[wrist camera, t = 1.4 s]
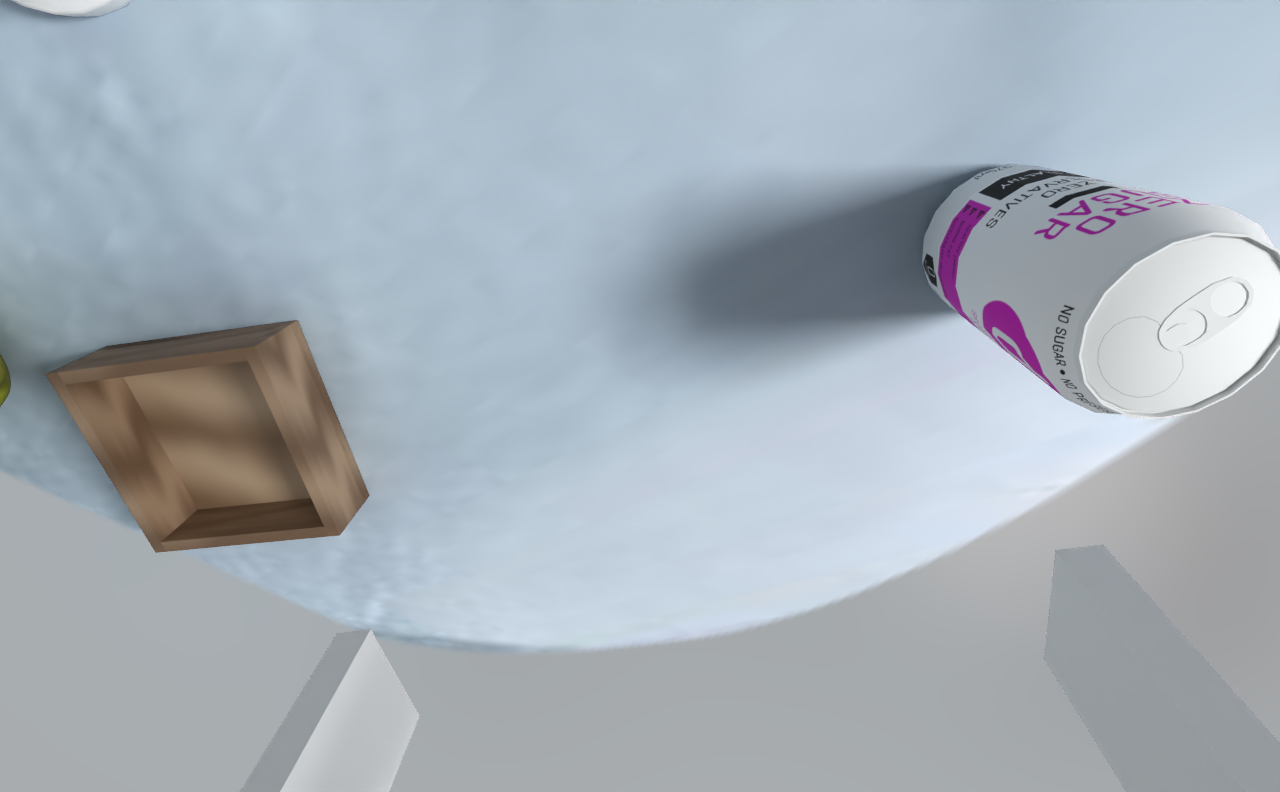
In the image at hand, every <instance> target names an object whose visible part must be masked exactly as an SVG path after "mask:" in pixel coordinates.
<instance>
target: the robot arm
mask: <svg viewBox="0 0 1280 792" xmlns="http://www.w3.org/2000/svg"><path fill="white" fill-rule="evenodd" d="M1044 659H1045V661H1046V663H1047V665H1048V666H1049V668H1050V669H1051V671H1052V673H1053V674H1054V676H1055V677H1056V679H1057V681H1058V682H1059V684H1060V686H1061V687H1062V689H1063V690H1064V692H1065V694H1066V695H1067V697H1068V699H1069V700H1070V702H1071V703H1072V705H1073V707H1074V708H1075V710H1076V711H1077V713H1078V715H1079V716H1080V718H1081V719H1082V721H1083V723H1084V724H1085V726H1086V728H1087V729H1088V731H1089V732H1090V734H1091V736H1092V737H1093V738H1094V741H1095V742H1096V744H1097V746H1098V747H1099V749H1100V750H1101V752H1102V754H1103V755H1104V757H1105V758H1106V760H1107V762H1108V763H1109V765H1110V767H1111V768H1112V770H1113V771H1114V773H1115V775H1116V776H1117V778H1118V779H1119V781H1120V783H1121V784H1122V786H1123V788H1124V789H1125V791H1126V792H1280V743H1279V741H1278V740H1277V739H1276V738H1275V737H1274V736H1273V735H1272V734H1271V733H1270V731H1269V730H1268V729H1267V728H1266V727H1265V726H1264V725H1263V724H1262V722H1261V721H1260V720H1259V719H1258V718H1257V717H1256V716H1255V715H1254V713H1253V712H1252V711H1251V710H1250V709H1249V708H1248V707H1247V706H1246V704H1245V703H1244V702H1243V701H1242V700H1241V699H1240V698H1239V697H1238V696H1237V694H1236V693H1235V692H1234V691H1233V690H1232V689H1231V688H1230V687H1229V686H1228V685H1227V683H1226V682H1225V681H1224V680H1223V679H1222V678H1221V676H1220V675H1219V674H1218V673H1217V672H1216V671H1215V670H1214V669H1213V667H1212V666H1211V665H1210V664H1209V663H1208V662H1207V661H1206V660H1205V659H1204V657H1203V656H1202V655H1201V654H1200V653H1199V652H1198V651H1197V649H1196V648H1195V647H1194V646H1193V645H1192V644H1191V643H1190V642H1189V641H1188V639H1187V638H1186V637H1185V636H1184V635H1183V634H1182V633H1181V632H1180V630H1179V629H1178V628H1177V627H1176V626H1175V625H1174V624H1173V623H1172V621H1171V620H1170V619H1169V618H1168V617H1167V616H1166V615H1165V614H1164V612H1163V611H1162V610H1161V609H1160V608H1159V607H1158V606H1157V605H1156V603H1155V602H1154V601H1153V600H1152V599H1151V598H1150V597H1149V596H1148V595H1147V593H1146V592H1145V591H1144V590H1143V589H1142V588H1141V587H1140V586H1139V584H1138V583H1137V582H1136V581H1135V580H1134V579H1133V578H1132V577H1131V575H1130V574H1129V573H1128V572H1127V571H1126V570H1125V569H1124V568H1123V566H1122V565H1121V564H1120V563H1119V562H1118V561H1117V560H1116V559H1115V557H1114V556H1113V555H1112V554H1111V553H1110V552H1109V551H1108V550H1107V549H1106V547H1105V546H1104V545H1096V546H1088V547H1079V548H1070V549H1061V550H1055V560H1054V569H1053V579H1052V589H1051V598H1050V607H1049V617H1048V627H1047V636H1046V646H1045V655H1044ZM418 719H419V714H418V713H417V711H416V709H415V707H414V706H413V704H412V702H411V700H410V698H409V697H408V695H407V693H406V691H405V690H404V688H403V686H402V684H401V682H400V681H399V679H398V677H397V675H396V674H395V672H394V670H393V668H392V667H391V665H390V663H389V661H388V659H387V658H386V656H385V654H384V652H383V651H382V649H381V647H380V645H379V643H378V642H377V640H376V638H375V636H374V634H373V633H372V631H371V629H370V630H361V631H353V632H345V633H337V634H336V636H335V637H334V639H333V641H332V642H331V644H330V646H329V647H328V649H327V651H326V652H325V654H324V655H323V657H322V659H321V660H320V662H319V664H318V665H317V667H316V668H315V670H314V672H313V673H312V675H311V677H310V678H309V680H308V682H307V683H306V685H305V686H304V688H303V690H302V691H301V693H300V694H299V696H298V698H297V699H296V701H295V703H294V704H293V706H292V707H291V709H290V711H289V712H288V714H287V716H286V718H285V719H284V721H283V722H282V724H281V725H280V727H279V729H278V730H277V732H276V734H275V735H274V737H273V738H272V740H271V742H270V743H269V745H268V747H267V748H266V750H265V752H264V753H263V755H262V756H261V758H260V760H259V761H258V763H257V765H256V766H255V768H254V769H253V771H252V773H251V775H250V776H249V778H248V779H247V781H246V782H245V784H244V786H243V787H242V789H241V791H240V792H389V790H390V788H391V785H392V783H393V780H394V778H395V776H396V773H397V771H398V768H399V766H400V763H401V761H402V758H403V756H404V753H405V751H406V748H407V746H408V744H409V741H410V739H411V736H412V734H413V731H414V729H415V726H416V724H417V721H418Z"/></svg>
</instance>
